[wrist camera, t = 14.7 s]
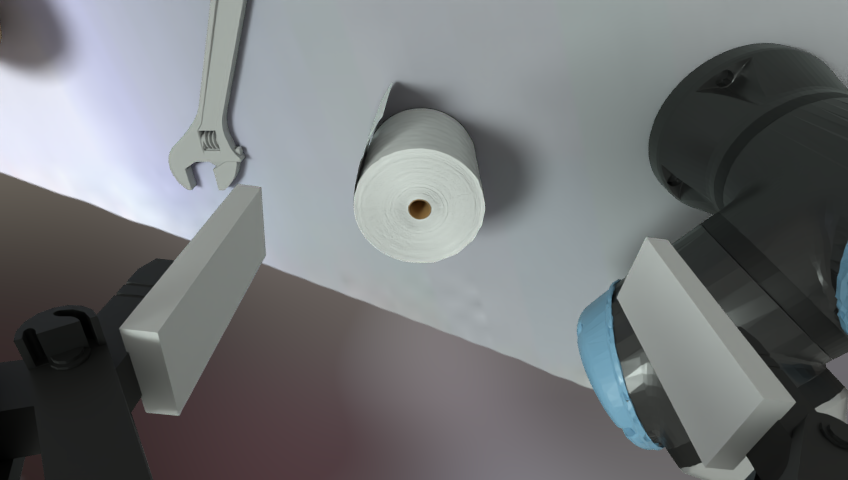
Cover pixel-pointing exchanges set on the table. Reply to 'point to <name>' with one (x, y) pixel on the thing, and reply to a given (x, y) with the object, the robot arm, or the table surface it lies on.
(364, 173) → the toilet tissue
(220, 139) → the adjustable wrench
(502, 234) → the table surface
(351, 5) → the table surface
